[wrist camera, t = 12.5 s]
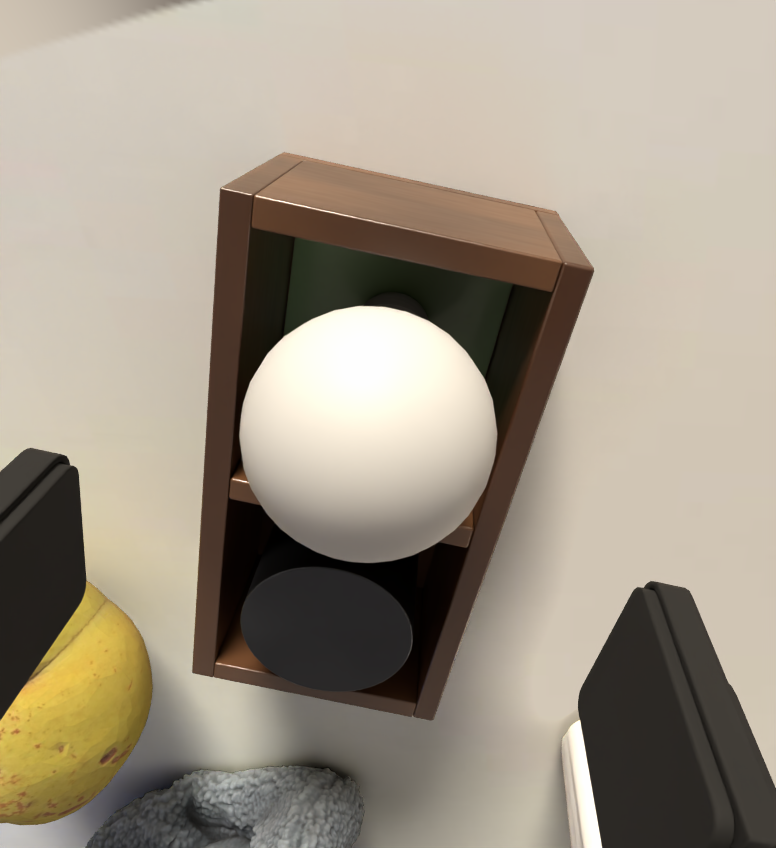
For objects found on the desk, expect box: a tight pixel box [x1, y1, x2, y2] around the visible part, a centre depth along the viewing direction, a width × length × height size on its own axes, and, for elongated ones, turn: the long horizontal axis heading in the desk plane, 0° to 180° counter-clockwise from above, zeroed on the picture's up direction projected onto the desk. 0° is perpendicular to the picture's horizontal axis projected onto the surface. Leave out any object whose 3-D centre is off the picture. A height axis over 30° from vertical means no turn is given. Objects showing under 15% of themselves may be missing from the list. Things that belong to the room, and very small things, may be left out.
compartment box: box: [192, 152, 594, 720], centre depth 23 cm, size 9×17×7 cm, turn 169°
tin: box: [240, 523, 419, 692], centre depth 24 cm, size 6×6×7 cm
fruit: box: [0, 581, 153, 825], centre depth 28 cm, size 11×12×10 cm
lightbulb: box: [239, 292, 497, 563], centre depth 18 cm, size 6×6×11 cm
